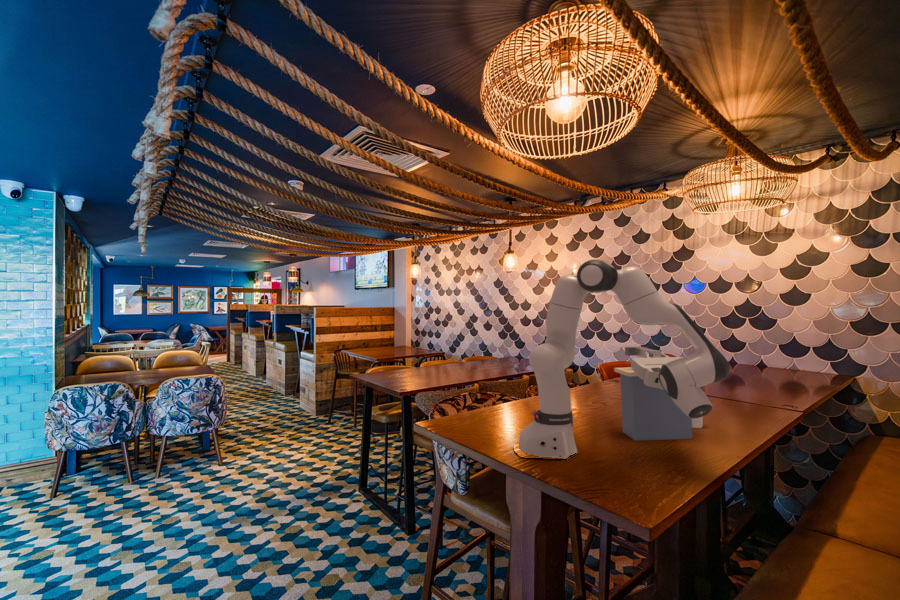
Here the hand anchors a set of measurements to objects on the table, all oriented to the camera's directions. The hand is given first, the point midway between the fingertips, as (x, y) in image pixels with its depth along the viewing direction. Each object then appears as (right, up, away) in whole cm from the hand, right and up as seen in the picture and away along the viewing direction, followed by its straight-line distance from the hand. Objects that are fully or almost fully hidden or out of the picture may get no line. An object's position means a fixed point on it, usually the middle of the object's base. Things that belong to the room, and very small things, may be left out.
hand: (652, 353), depth 138 cm
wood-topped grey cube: (+7, -34, +10) cm, 36 cm away
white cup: (+28, -34, +20) cm, 48 cm away
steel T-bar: (0, -2, +5) cm, 5 cm away
